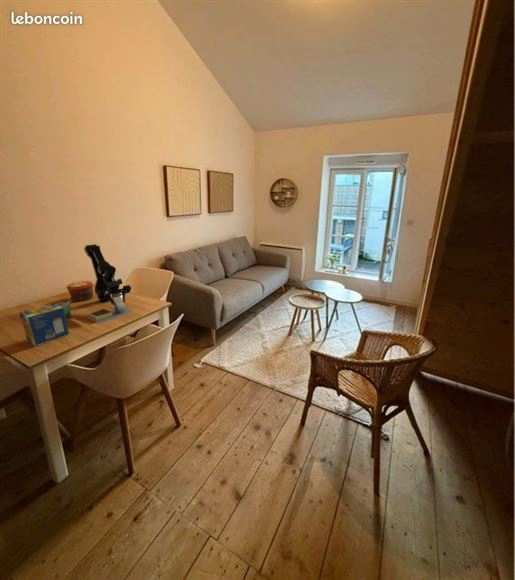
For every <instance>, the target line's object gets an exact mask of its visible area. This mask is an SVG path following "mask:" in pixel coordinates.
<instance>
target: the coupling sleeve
mask: <svg viewBox="0 0 515 580" xmlns="http://www.w3.org/2000/svg"><path fill="white" fill-rule="evenodd" d="M111 298H112V300H113V301H114V304H115V305H113V309H115V313H116V314H120V313H124V312H125V309H126V308H125V303H124V301H123V294H122V292H114V293H112V294H111Z"/></svg>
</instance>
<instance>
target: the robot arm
mask: <svg viewBox="0 0 515 580" xmlns="http://www.w3.org/2000/svg"><path fill="white" fill-rule="evenodd" d="M83 250H84V253H86V255H87V257H88V258H89V259H90V260H91V264H92V268H93V270H94V274H95V275H94V276H95V278H96V281H95V283H94V284H95V285H94V286H95V287H94V291H95V292H94V293H95V294H96V297H97V302H99V303H102V304H103V303H107V302H109V303H111V304H112V305H113V306H114V305H115V304H114V301H113V298H112V293H114V292H122V294H123V301H124V304H125V303H126V299H125V298H126V295H127V294H129V293H131V290H132V286H131V285H130V284H126V285H123V286H122V288H120V286H121V285H122V284H123V280H122V278H117V279H115V276H116V271H117V269H116V267H115V266H114V265H111V264H110V262H108V261H106V259H105V258H104V255H103V254H102V251H101V247H100V245H98V244H95V243H94V244H88V245H86V244H85V246H84V248H83Z"/></svg>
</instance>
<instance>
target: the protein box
mask: <svg viewBox="0 0 515 580" xmlns="http://www.w3.org/2000/svg"><path fill="white" fill-rule="evenodd" d="M55 304H56V303H50V304H47V305H44V306H43V305H42V306H39V307H36V308H32V309H29V310H26V311H22V312H19V314H18V315H19V316H20V320H21V324H22V326H23V327H22V328H23V330H24V333H25V337H26V341H27V340H28V341H27V342H29V343H30V342H31V343H30V344H31V345H33V344H34V345H38V344H41V343H44V342H46V341H49V340H52V339H55V338H58V337H61V336H64V335H66V336H68V335H67V334H69V335H70V332H69V331H70V330H69V328H68V324H67V320H66V319H65V315H64V311H63V308H62V307H60V306H58V305H55ZM64 337H65V336H64ZM61 338H62V337H61ZM58 339H59V338H58ZM55 340H56V339H55ZM44 344H45V343H44ZM34 345H33V346H34Z"/></svg>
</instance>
